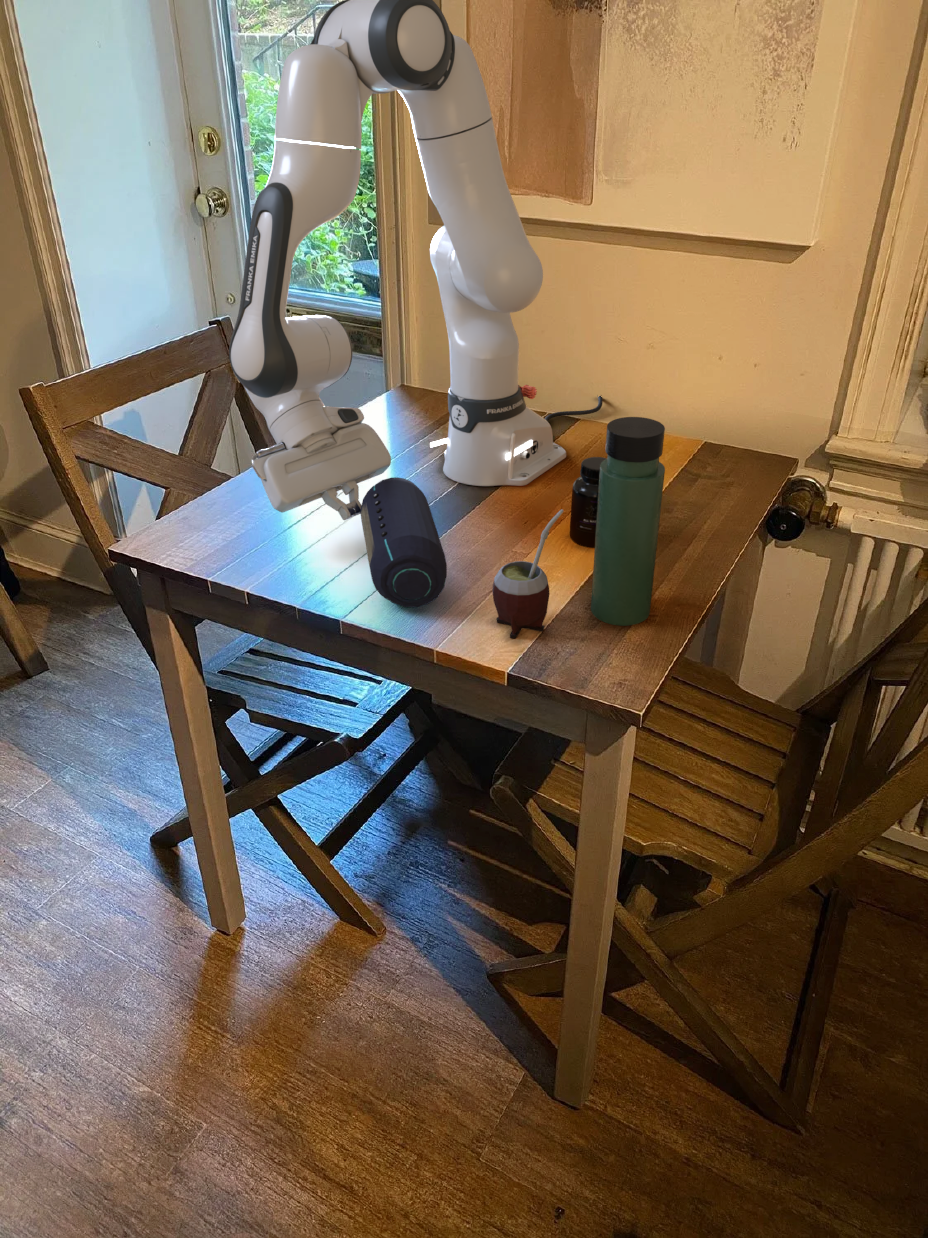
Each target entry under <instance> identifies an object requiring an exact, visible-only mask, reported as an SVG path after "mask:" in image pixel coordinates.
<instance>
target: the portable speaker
mask: <svg viewBox="0 0 928 1238" xmlns="http://www.w3.org/2000/svg"><path fill="white" fill-rule="evenodd" d="M361 505H362V506H361V510H360V514H359V515H360V519H361V526H362V532H363V537H364V543H365V549H366V555H367V560H368V561H367V562H368V566H369V571H370V576H371V580H372V584H373V587H374V589H375V590H376V591H377V592H378V594H379V595H380V596H381V597H382V598H384V600H387V601H389V602H391V603H393V604H395V605H398V606H400V607H404V608H419V607H423V606H425V605H430V604H431V603H432V602H433V601H435V600H436V599H437V598H439V597H440V596H441V593H442V591H443V590H444V588H445V586H446V581H447V573H448V571H447V570H448V568H447V567H448V565H447V559H446V555H445V551H444V548H443V545H442V542H441V539H440V536H439V533H438V530H437V525H436V523H435V521H434V520H435V519H434V517H433V514H432V510H431V507H430V503H429V501H428V499H427V497H426V495H425V493H424V492H423V491H422V490H421V489H420V488H419V486H417V485H416V484H415V483H414V482H412V481H411V480H409V479H406V478H403V477H397V476H396V477H387V478H385V479H382V480H380V481H378V482H377V483H375V484H374V485H372V486H371V487H370V488H369V489H368V490H367V492H366V493H365V495H364V497H363V498H362V502H361Z"/></svg>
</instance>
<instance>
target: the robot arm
mask: <svg viewBox="0 0 928 1238" xmlns="http://www.w3.org/2000/svg"><path fill="white" fill-rule="evenodd" d="M475 57H476V56H475V54H474V52H473V50H472V47H471V46H470V44H469V43H468V42H467V41H466V40H465V39H463V38H462V37H460V36H458V35H456V34H453V33H452V31H451V30H450V27H449V23H448V21H447V19H446V17H445V15H444V13H443V10H441V8H440V7H439V5H438V4H437V2H436V1H434V0H342V1H338V2H337V3H336V4H334V5H333V6H331V7H329V9H327V11H326V12H324V14H323V15H322V17H321V19H320V20H319V21H318V24H317V26H316V29H315V31H314V34H313V39H312V40H311V42H310V44H305V45H303V46H300V47H298V48H295V49H294V50H292V51H291V52H290V53H289V54H288V55H287V57H285V58H286V59H285V60H284V63H283V66H282V71H281V76H280V81H279V87H278V93H277V102H276V108H275V109H276V110H275V124H274V150H273V159H272V164H271V169H270V173H269V176H268V179H267V181H266V183H265V187H263V188H262V189H261V191H260V192H259V194H258V195H257V197H256V200H255V202H254V205H253V210H252V214H251V219H250V225H249V231H248V232H249V233H248V239H247V245H246V246H247V247H246V253H245V254H246V255H245V262H244V271H243V278H242V285H241V286H242V287H241V293H240V302H239V308H238V314H237V318H236V321H235V325H234V328H233V331H232V334H231V338H230V343H229V347H228V358H229V365H230V367H231V369H232V372H233V374H234V376H235V377H236V379H237V380H238V381H239V383H240V384H241V385H242V386H243V388H244V389H245V392H246V393H247V395H248V397H249V398H250V400H251V403H252V404H253V405H254V407H255V408H256V409H257V410H258V411H259V412H260V413H261V414H262V416H263V417H264V419H265V421H266V425H267V428H268V432H269V433H270V435H271V436H272V438H273V439H274V442H275V443H276V444H274V445H271V446H269V447H267V448H262V449H259V450H257V451H256V452H255V454H254V456H253V457H252V459H251V467H252V469H253V471H254V472H255V474H256V476H257V477H258V479H260V481H261V483H262V486H263V489H264V491H265V493H266V494H265V495H267V498H268V500H269V502H270V504H271V506H272V508H273V509H274V510H276V511H277V512H280V513H287V512H288V511H291V510H294V509H296V508H298V507H301V506H304V505H306V504H308V503H311V502H313V501H316V500H319V499H322V501H323V502H324V504H325V505H327V506H328V507H329V508H331V509H333V510H334V511H336V512H338V514H339V516H340V518H341V519H342V520H343V521H347V520H349V519H351V518H353V517H356V516H359V515H361V514H360V510H361V506H362V503H361V502H360V500H359V499H360V498H359V497H360V495H359V494H360V493H359V491H360V489H359V485H358V484H359V483H362V482H365V481H367V480H369V479H372V478H375V477H377V476H381V475H382V474H384V473H385V472H386V471H387V469H389V467H390V466H391V465H392V464H391V463H392V456H391V454H390V451H389V450H388V448H387V447H386V444H385V443H384V441H383V440H382V439H381V437H380V436H379V434H378V433H377V432H376V430H375V429H374V428H373V427H372V426H370V425H369V424H367V423H364V422H363V421H364V420H365V415H364V413H363V412H362V409H360V408H358V407H341V406H340V407H338V406H331V405H330V406H329V405H325V404H324V402H323V400H322V399H321V398H320V393H321V392H322V390H325V389H327V388H329V387H331V386H333V385H334V384H336V383H337V382H338V381H340V380H341V379H343V378H344V377H345V376H346V375H347V373H348V372H349V370H350V367H351V364H352V361H353V344H352V341H351V338H350V335H349V333H348V331H347V329H346V328H345V327H344V325H343V323H341V322H340V321H339V320H338V319H337V318H335V317H334V316H330V315H322V314H315V315H313V314H312V315H299V316H292V317H291V316H290V317H286V312H287V306H288V298H289V297H288V296H289V290H290V284H291V283H290V282H291V276H292V268H293V262H294V257H295V254H296V251H297V250H298V248H299V246H300V245H301V243H302V242H303V240H305V238H306V237H308V235H310V234H311V233H312V232H313V231H315V230H316V229H318V228H319V227H321V226H323V225H325V224H327V223H329V222H331V221H333V220H334V219H336V218H338V217H339V216H340V215H342V214H343V213H344V212H345V211H346V209H347V208H348V207H349V206H350V205H351V204H352V203H353V201H354V200H355V197H356V194H357V190H358V186H359V183H360V176H361V165H362V164H361V162H362V139H363V138H362V137H363V135H362V132H363V131H362V129H363V128H362V126H363V125H362V121H363V118H364V117H363V116H364V112H365V109H366V106H367V103H368V102H369V100H370V98H371V96H372V95H373V94H374V95H375V94H376V95H381V94H382V95H384V94H389V93H392V92H396V91H397V92H398V93H399V94H400V96H401V97H402V98H403V100H404V102H405V104H406V106H407V108H408V111H409V114H410V120H411V125H412V131H413V134H414V139H415V142H416V146H417V150H418V155H419V159H420V162H421V167H422V171H423V175H424V179H425V183H426V188H427V193H428V195H429V197H430V200H431V201H432V203H433V204H434V206H435V208H436V210H437V213H438V214H439V217H440V218H441V221H442V223H443V225H442V226H441V227H440V228H439V229H438V230H437V232H436V233H435V234H434V236H433V238H432V240H431V243H430V248H429V258H430V259H429V260H430V263H431V266H432V268H433V271H434V273H435V277H436V280H437V285H438V290H439V296H440V302H441V307H442V312H443V317H444V320H445V326H446V333H447V338H448V349H449V374H450V375H449V376H450V377H449V378H450V386H449V388H448V390H447V391H448V392H447V407H448V408H447V409H448V413H449V418H448V429H447V437H446V438H445V437H444V438H441V439H439V440H435V441H431V442H430V443H429V447H430V448H434V447H438V446H441V445H444V444H445V445H446V449H445V450H444V453H443V455H444V456H443V457H444V462H443V467H442V473H443V474H444V475H445V477H447V478H448V479H450V480H451V481H454V482H457V483H460V484H463V485H469V486H475V487H476V486H478V487H494V486H516V487H523V486H527V485H528V484H530V483H531V482H533V481H534V480H536V479H537V478H538V477H540V476H541V475H543V474H544V473H545V472H547V471H549V470H550V469H551V468H554V467H555V466H556V465H557V464H559V463H560V462H562V461H563V460H565V459H566V458H567V451H566V450H565V448H563V447H562V446H561V445H559V444H558V443H555V442H554V437H553V429H552V426H551V424H550V423H549V421H550V420H551V419H553V418H557V417H564V416H565V417H567V416H583V415H586V416H587V415H592V414H595V413H597V412H599V411H600V410H601V409H602V407H603V396H602V395H601V396H602V397H601V396H599V397H598V396H597V406H596V407H594V408H590V409H585V410H584V409H583V410H565V411H564V410H563V411H556V412H553V413H550V414H548V415H546V416H545V418H544V417H543V416H541V415H540V414H538V413H537V412H535V411H534V410H533V409H531V408H530V407H529V406H527V403H526V401H525V398H527V399H529V400H534V399H535V398H536V395H538V393H537V392H538V391H537V390H538V389H537V388H536V387H535V386H531V385H529V384H525V385H523V386H520V384H519V381H520V379H519V377H520V376H519V375H520V342H519V341H520V340H519V336H518V333H517V331H516V328H515V327H514V324H513V320H512V315H511V313H517V312H520V311H522V310H524V309H526V308H527V307H529V306H530V305H532V303H533V302H534V301H535V300H536V298H537V297H538V295H539V293H540V291H541V288H542V286H543V279H544V269H543V264H542V262H541V260H540V257H539V255H538V254H537V252H536V251H535V250H534V248H533V247H532V244H531V242H530V240H529V238H528V236H527V234H526V231H525V228H524V225H523V223H522V220H521V217H520V214H519V211H518V209H517V207H516V204H515V202H514V198H513V196H512V194H511V190H510V188H509V185H508V183H507V179H506V175H505V172H504V169H503V164H502V158H501V154H500V150H499V145H498V140H497V135H496V130H495V125H494V119H493V115H492V110H491V106H490V101H489V97H488V93H487V89H486V86H485V83H484V80H483V77H482V76H483V75H482V73H481V71H480V68H479V65H478V62H477V59H476V58H475ZM339 491H342V492H343V494H344V495H345V496H348V501H349V502H348V503H345V502H344V501H343V500H341V499H340V498H339V497H337V496H338V495H339V493H338V492H339Z"/></svg>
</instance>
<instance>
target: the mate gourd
mask: <svg viewBox="0 0 928 1238" xmlns="http://www.w3.org/2000/svg"><path fill="white" fill-rule="evenodd" d="M563 513H564V509H563V508H561V509H560V510H559V511H558V512H556V514H555V515H554V516H553V517H552V518H551V519H550V521H549V522H548V523H547V524H546V526H545V527H544V529H543V530H542V532H541V534H540V540H539V544H538V547H537V550H536V552H535V556H534V560H533V562H532V561H525V560H519V561H512V562H508V563H506V564H505V565H502V567H500V568H499V570H498V572H496V574H495V576H494V578H493V583H492V588H491V589H492V590H491V591H492V600H493V603H494V607H495V610H496V613H497V617H496V619H495V620H496V624H500V625H505V626H510V627H511V632H510V633H509V638H510V639H512V640H516V639H517V638H518V637H519V634H520V633H521V631H522V630H523V629H526V630H529V631H530V630H531V631H536V632H544V630H545V624H544V621H545V618H546V616H547V613H548V607H549V601H550V600H549V599H550V586H549V581H548V575H547V574H546V573H545V571H544V570H543V569H542V568H541V567H540V566H539V565H538V564H539V561H540V558H541V555H542V551H543V549H544V546H545V542H546V540H547V539H548V537H549V534H550V530H551V528H552V527H553V526H554V524H555V523H556V522H557V520H558V519H559V517H561V515H562V514H563Z"/></svg>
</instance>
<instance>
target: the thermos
mask: <svg viewBox="0 0 928 1238" xmlns="http://www.w3.org/2000/svg"><path fill="white" fill-rule="evenodd" d="M665 431H666V428H665V425H664V424H663V423H662V422H660V421H659V420H656V419H652V418H648V417H642V416H625V417H619V418H615V419H613V420H611V421H609V422H607V425H606V436H605V449H604V450H605V453H606V455H607V457H606V458H607V459H606V460H604V461H603V462H602V463H601V465H600V475H599V490H598V505H597V521H596V536H595V548H594V550H593V551H594V552H593V555H594V556H593V566H592V567H593V568H592V571H593V572H592V584H591V600H590V612H591V613H592V615H593V616H594V617H595V618H596V619H597V620H599V621H601V622H603V623H606V624H609V625H612V626H621V627H622V626H623V627H625V626H627V627H629V626H634V625H638V624H640V623H643V622H645V621H646V620H647V619H648V618H649V616H650V614H651V605H652V596H653V587H654V578H655V569H656V560H657V559H656V558H657V549H658V540H659V530H660V520H661V512H662V511H661V510H662V502H663V501H662V500H663V493H664V484H665V483H664V482H665V473H666V468H665V465H664V464H663V463H662V462H661V461H660V457H662V455H663V450H664V443H665V441H664V440H665Z"/></svg>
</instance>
